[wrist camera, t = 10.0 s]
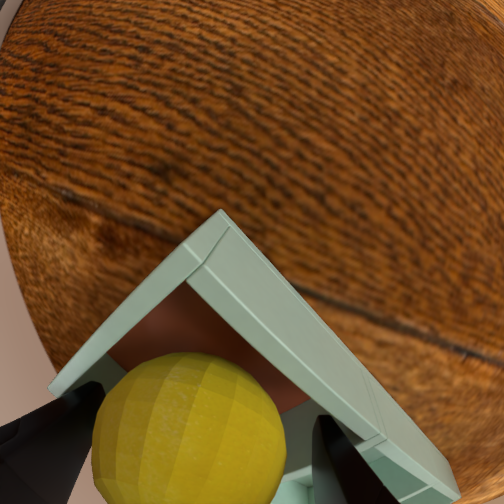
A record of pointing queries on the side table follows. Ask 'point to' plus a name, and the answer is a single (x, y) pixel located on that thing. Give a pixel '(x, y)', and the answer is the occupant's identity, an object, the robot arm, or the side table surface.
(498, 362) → the side table surface
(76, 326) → the side table surface
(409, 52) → the side table surface
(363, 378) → the compartment tray
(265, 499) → the fruit
